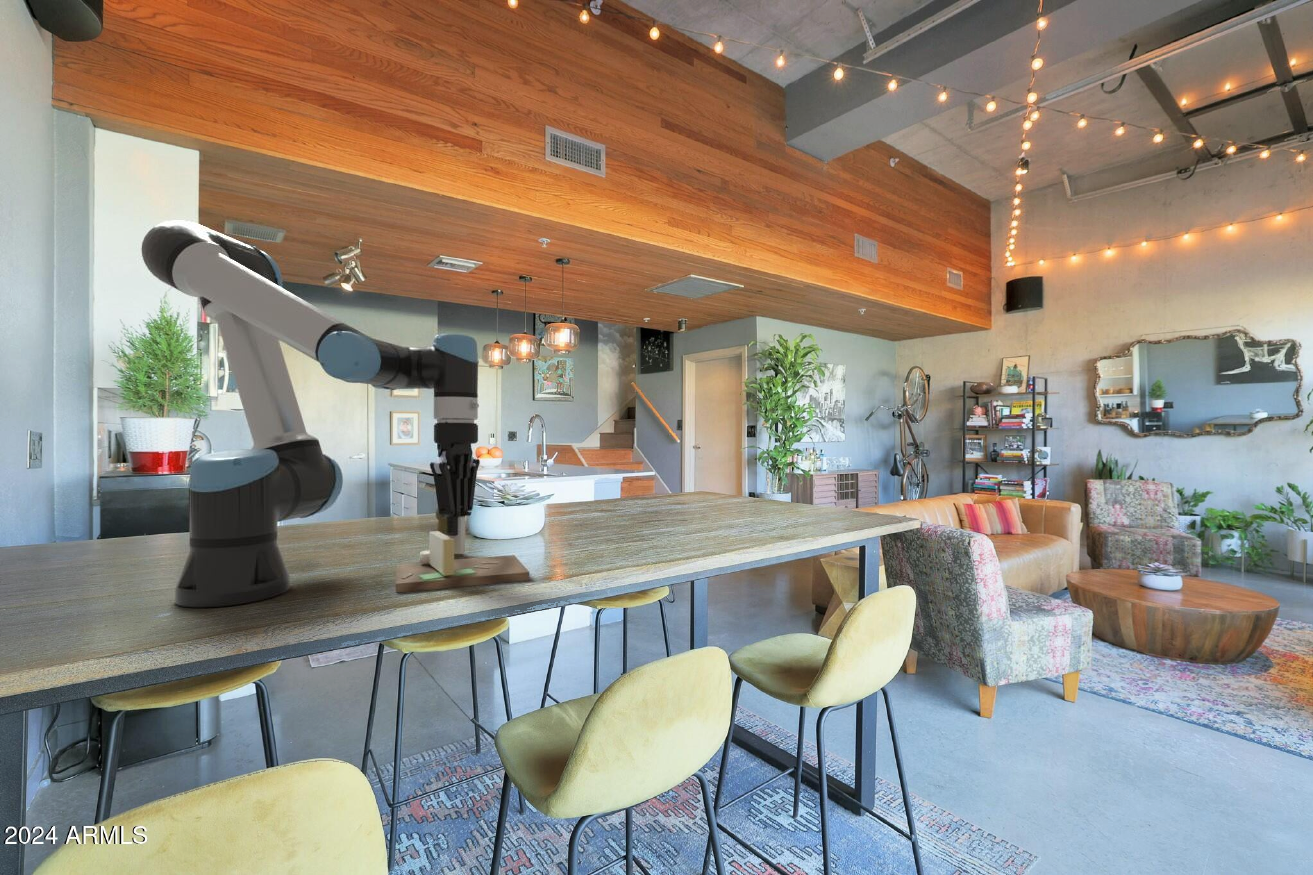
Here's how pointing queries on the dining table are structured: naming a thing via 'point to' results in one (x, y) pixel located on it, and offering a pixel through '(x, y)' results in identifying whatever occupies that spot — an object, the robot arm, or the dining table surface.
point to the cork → (443, 526)
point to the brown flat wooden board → (460, 573)
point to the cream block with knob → (439, 553)
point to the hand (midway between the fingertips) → (456, 552)
